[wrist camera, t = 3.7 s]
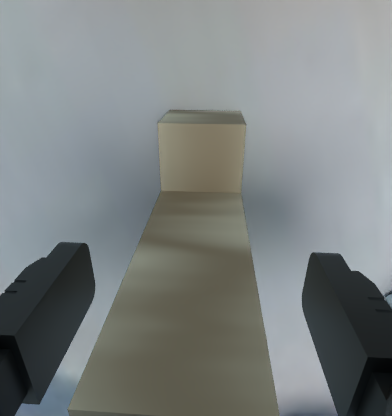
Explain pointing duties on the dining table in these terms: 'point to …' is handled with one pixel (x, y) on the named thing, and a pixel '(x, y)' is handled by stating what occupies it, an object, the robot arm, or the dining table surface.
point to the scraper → (187, 291)
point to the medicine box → (389, 299)
